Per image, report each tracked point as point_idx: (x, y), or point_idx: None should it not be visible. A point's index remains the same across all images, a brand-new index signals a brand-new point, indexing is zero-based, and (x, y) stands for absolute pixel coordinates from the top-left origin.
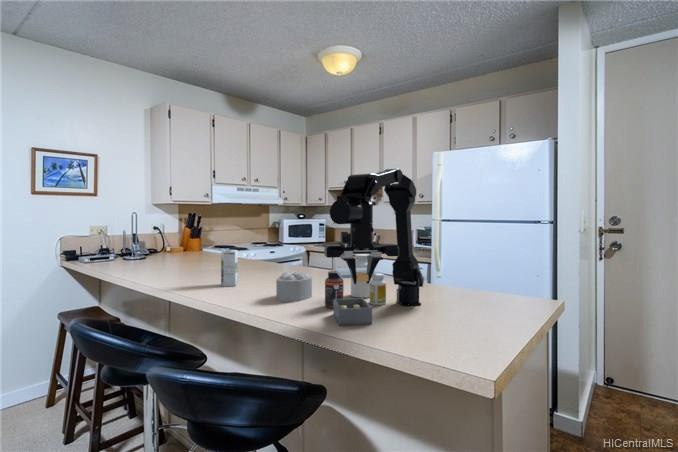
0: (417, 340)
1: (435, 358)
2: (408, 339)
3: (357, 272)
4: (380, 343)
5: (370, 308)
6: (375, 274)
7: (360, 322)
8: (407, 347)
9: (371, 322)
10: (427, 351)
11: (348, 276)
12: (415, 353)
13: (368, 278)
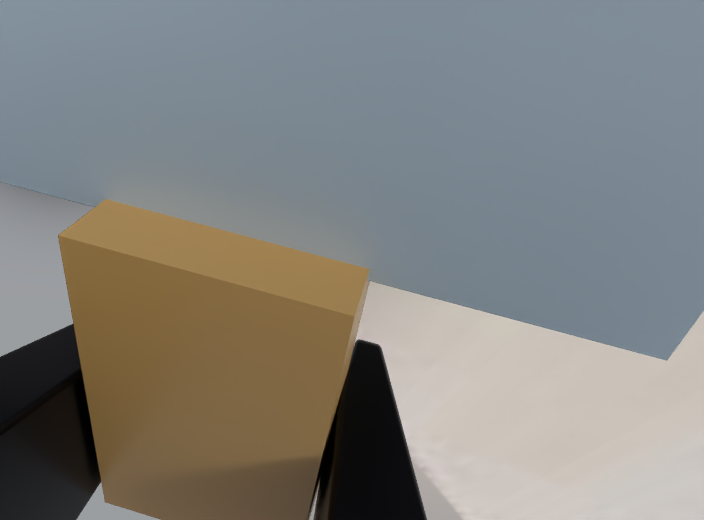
0: (588, 385)
1: (506, 510)
2: (554, 359)
3: (151, 341)
4: (384, 338)
5: None
6: (653, 351)
7: None
8: (477, 416)
9: None
10: (527, 470)
11: (21, 172)
12: (466, 461)
13: (313, 502)
